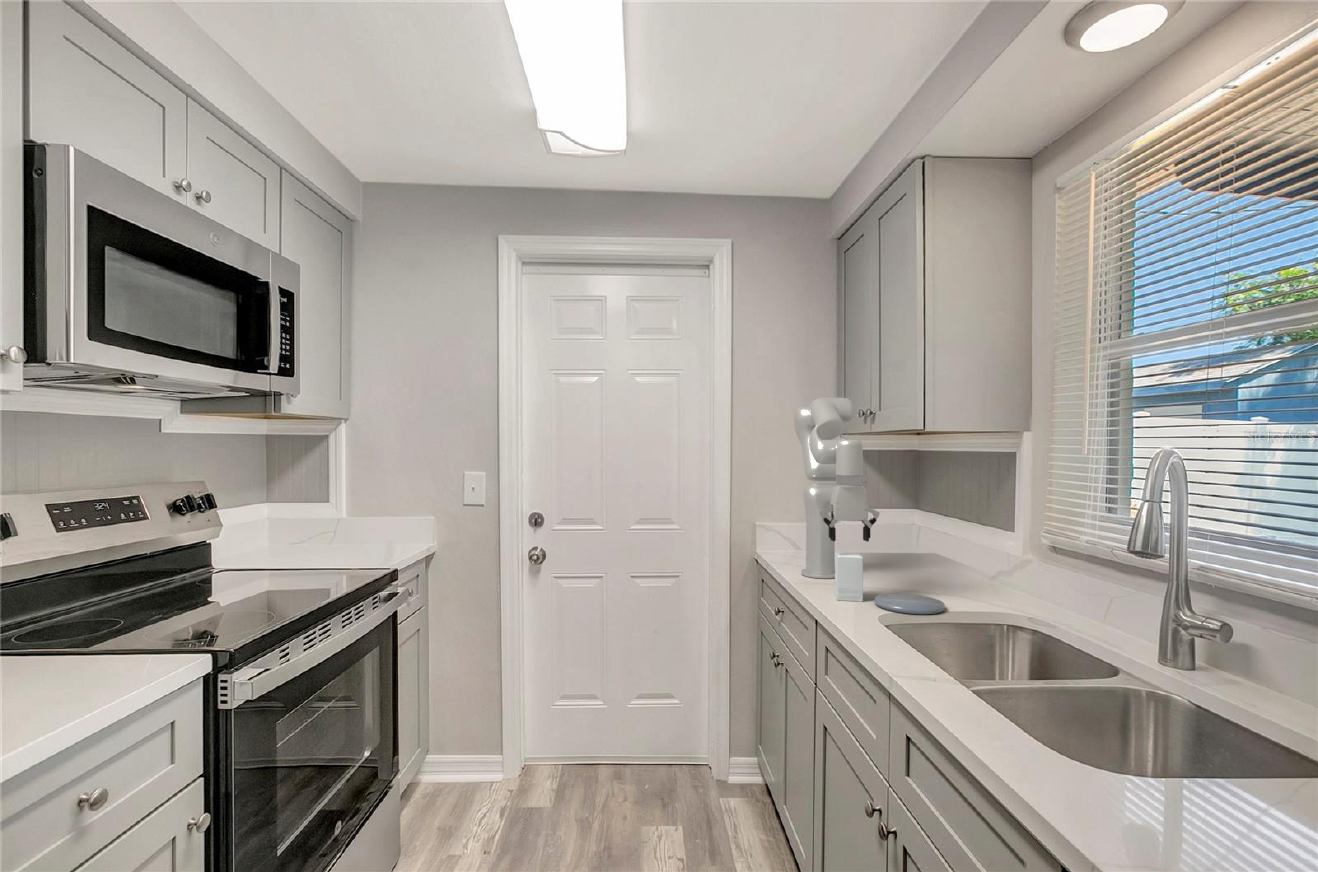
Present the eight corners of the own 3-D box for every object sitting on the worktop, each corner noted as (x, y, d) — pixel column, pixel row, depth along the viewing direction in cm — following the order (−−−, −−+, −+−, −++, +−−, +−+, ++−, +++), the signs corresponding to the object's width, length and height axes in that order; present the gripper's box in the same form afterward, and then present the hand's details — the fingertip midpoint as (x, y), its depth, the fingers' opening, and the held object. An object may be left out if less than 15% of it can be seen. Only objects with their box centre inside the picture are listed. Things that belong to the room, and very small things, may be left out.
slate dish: (865, 598, 182) (865, 593, 182) (927, 598, 182) (927, 593, 182) (888, 615, 164) (888, 609, 164) (956, 615, 164) (956, 609, 164)
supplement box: (863, 602, 178) (863, 557, 178) (836, 600, 179) (836, 556, 180) (860, 595, 185) (860, 553, 185) (834, 594, 187) (834, 552, 187)
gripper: (874, 481, 186) (874, 539, 186) (816, 481, 186) (816, 538, 186) (883, 482, 179) (883, 542, 178) (823, 482, 179) (823, 542, 178)
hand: (849, 540), depth 182 cm, fingers open, 9 cm apart
